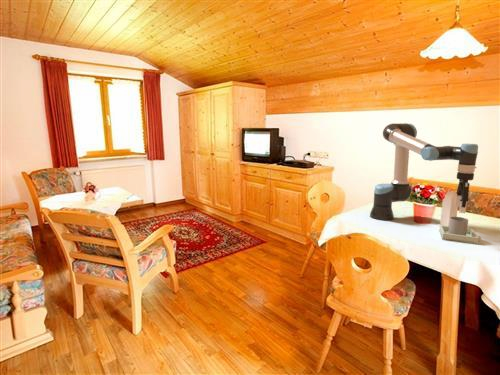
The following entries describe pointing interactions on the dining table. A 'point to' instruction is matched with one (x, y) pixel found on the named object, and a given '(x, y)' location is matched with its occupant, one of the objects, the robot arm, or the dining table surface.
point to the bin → (469, 237)
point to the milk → (448, 208)
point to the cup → (458, 226)
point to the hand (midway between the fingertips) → (460, 209)
